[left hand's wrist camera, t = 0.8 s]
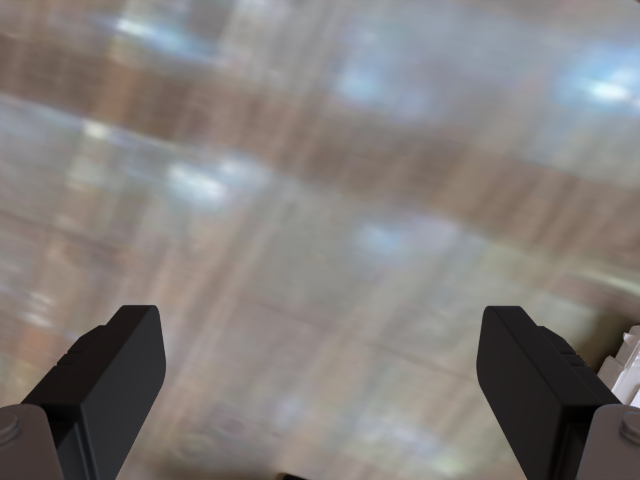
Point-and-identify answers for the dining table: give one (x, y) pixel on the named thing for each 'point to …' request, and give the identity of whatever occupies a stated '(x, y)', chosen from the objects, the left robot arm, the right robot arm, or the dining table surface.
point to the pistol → (624, 370)
